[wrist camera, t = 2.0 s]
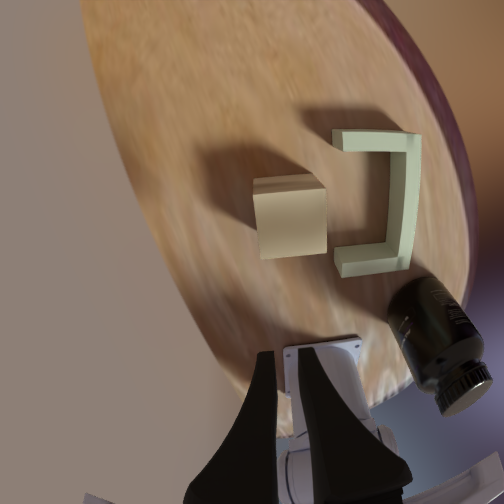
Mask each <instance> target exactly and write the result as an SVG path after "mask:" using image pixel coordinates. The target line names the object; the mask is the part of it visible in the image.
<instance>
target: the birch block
mask: <svg viewBox="0 0 504 504" xmlns="http://www.w3.org/2000/svg"><path fill="white" fill-rule="evenodd" d="M253 201H254V209H255V217H256V225H257V233H258V241H259V250H260V258H261V260H262V259H273V258H283V257H292V256H302V255H312V254H322V253H327V202H326V188H325V187H324V186H323V184H322V183H321V182H320V181H319V180H318V179H317V178H316V177H315V176H314V175H313V173H309V174H296V175H284V176H274V177H264V178H254V179H253Z"/></svg>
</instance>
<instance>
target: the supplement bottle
mask: <svg viewBox="0 0 504 504" xmlns="http://www.w3.org/2000/svg"><path fill="white" fill-rule="evenodd" d="M387 319H388V323H389V326H390V328H391V330H392V332H393V334H394V336H395V339H396V341H397V343H398V345H399V347H400V349H401V351H402V354H403V356H404V358H405V360H406V363H407V365H408V367H409V369H410V372H411V374H412V376H413V379H414V381H415V383H416V385H417V387H418V389H419V390H420V391H422V392H424V393H426V394H436V395H435V398H434V399H435V402H436V404H437V405H438V407H439V410H440V412H441V415H442V416H443V417H449V416H452V415H455V414H457V413H459V412H461V411H463V410H464V409H466V408H468V407H469V406H471V405H472V404H473V403H475V402H476V401H477V400H478V399H479V398H481V396H483V395H484V394H485V393H486V392H487V390H488V389H489V388H490V386H491V385H492V383H493V382H492V381H493V379H492V377H491V375H490V373H489V372H488V370H487V366H486V364H485V363H484V362H480V361H481V359H482V356H483V352H484V342H483V339H482V337H481V335H480V334H479V332H478V330H477V329H476V327H475V326H474V325H473V323H472V322H471V320H470V319H469V317H468V316H467V315H466V313H465V312H464V311H463V309H462V308H461V307H460V305H459V304H458V303H457V301H456V300H455V299H454V297H453V296H452V295H451V294H450V292H449V291H448V290H447V289H446V287H445V286H444V285H443V284H442V283H441V282H440V281H439V280H438V279H436V278H432V277H422V278H419V279H416V280H414V281H412V282H410V283H408V284H407V285H406V286H404V287H403V288H402V289H401V290H400V291H399V292H398V293H397V294H396V295H395V297H394V298H393V300H392V301H391V303H390V306H389V309H388V313H387Z"/></svg>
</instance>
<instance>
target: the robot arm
mask: <svg viewBox="0 0 504 504" xmlns="http://www.w3.org/2000/svg"><path fill="white" fill-rule="evenodd" d="M361 346H362V339H361V338H360V337H356V338H350V339H344V340H337V341H330V342H323V343H316V344H307V345H299V346H289V347H285V348H284V349H283V358H284V375H285V393H286V397H287V398H291V407H292V419H293V431H294V439H292V440H289V450H285V451H283V452H282V453H281V455H280V457H279V458H278V460H277V457H276V428H277V404H278V393H277V379H276V368H275V358H274V351H265V352H259V353H258V354H257V361H256V366H255V370H254V374H253V378H252V381H251V384H250V387H249V390H248V393H247V395H246V398H245V400H244V403H243V405H242V407H241V410H240V412H239V414H238V416H237V418H236V420H235V422H234V424H233V426H232V428H231V430H230V431H229V433H228V435H227V436H226V438H225V440H224V441H223V443H222V445H221V446H220V447H219V449H218V450H217V452H216V453H215V454H214V456H213V457H212V459H211V460H210V461H209V463H208V464H207V465H206V466H205V467H204V469H203V470H202V471H201V472H200V473H199V474H198V475H197V476H196V478H195V479H194V480H193V481H192V482H191V483H190V484H189V486H188V488H187V491H186V493H185V497H184V500H183V504H279V499H280V501H281V502H282V504H488V503H489V502H490V501H492V500H493V499H494V498H496V497H497V496H499V495H500V494H501V493H502V492H504V471H503V468H502V465H501V461H500V459H499V455H498V453H497V452H494V453H493V454H491V455H490V456H488V457H487V458H485V459H484V460H482V461H480V462H479V463H477V464H476V465H474V466H473V467H471V468H470V469H468V470H467V471H465V472H463V473H461V474H459V475H458V476H456V477H454V478H452V479H450V480H448V481H446V482H444V483H442V484H440V485H438V486H435V487H433V488H431V489H429V490H427V491H424V492H422V493H419V494H417V495H415V496H412V497H409V498H407V499H404V500H402V496H401V495H402V494H403V489H402V487H404V486H406V485H407V484H409V483H410V482H412V480H413V478H412V474H411V471H410V469H409V467H408V465H407V463H406V461H405V460H403V459H402V458H400V456H399V451H398V447H397V444H396V440H395V437H394V435H393V432H392V430H391V429H390V428H388V427H385V426H384V425H380V426H378V427H377V429H376V425H375V421H374V418H371V415H370V411H369V407H368V404H367V400H366V397H365V393H364V390H363V386H362V383H361V380H360V376H359V373H358V370H357V363H358V359H359V355H360V350H361ZM377 431H378V432H377ZM83 504H115V503H112V502H109V501H107V500H104V499H101V498H98V497H96V496H93V495H91V494H88V493H85V496H84V501H83Z"/></svg>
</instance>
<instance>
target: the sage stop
mask: <svg viewBox="0 0 504 504" xmlns="http://www.w3.org/2000/svg"><path fill="white" fill-rule="evenodd" d="M332 144H333V147H335V148H337V149H339V150H341V151H343V152H347V151H390V191H389V208H388V221H387V232H386V241H385V242H383V243H373V244H363V245H353V246H343V247H334V263H335V265H336V267H337V269H338V271H339V274H340V276H341V278H346V277H354V276H362V275H370V274H377V273H385V272H392V271H399V270H406V269H409V264H410V259H411V253H412V247H413V241H414V234H415V227H416V219H417V211H418V201H419V189H420V173H421V135H420V134H416V133H411V132H407V131H397V130H376V129H332Z"/></svg>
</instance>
